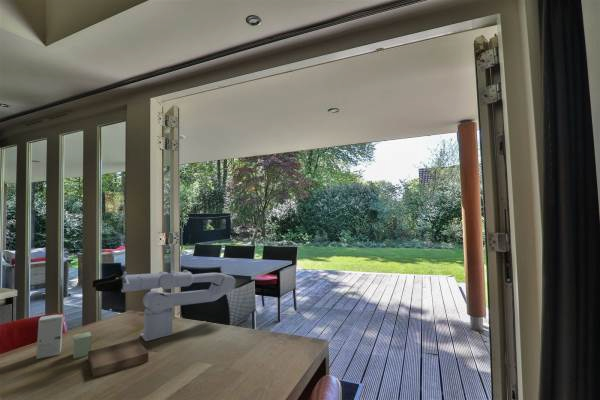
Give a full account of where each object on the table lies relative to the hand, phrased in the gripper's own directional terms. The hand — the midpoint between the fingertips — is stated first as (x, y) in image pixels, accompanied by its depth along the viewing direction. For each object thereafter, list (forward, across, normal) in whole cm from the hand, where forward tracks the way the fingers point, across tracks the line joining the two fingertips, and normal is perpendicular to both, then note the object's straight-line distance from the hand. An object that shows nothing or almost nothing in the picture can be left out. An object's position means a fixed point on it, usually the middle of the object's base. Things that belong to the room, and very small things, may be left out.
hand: (94, 285), depth 100 cm
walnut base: (-7, +13, +21) cm, 26 cm away
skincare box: (+9, -7, +22) cm, 25 cm away
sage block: (+1, 0, +22) cm, 22 cm away
